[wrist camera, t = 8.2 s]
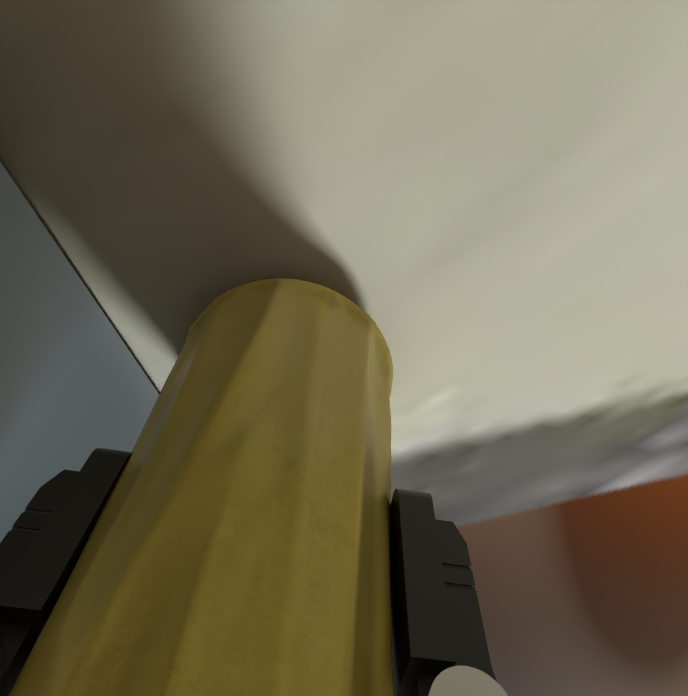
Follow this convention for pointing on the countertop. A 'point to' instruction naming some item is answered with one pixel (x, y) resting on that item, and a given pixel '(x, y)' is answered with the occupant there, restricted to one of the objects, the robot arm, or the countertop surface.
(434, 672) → the robot arm
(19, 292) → the grey flat panel
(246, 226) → the countertop surface
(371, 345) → the vase
